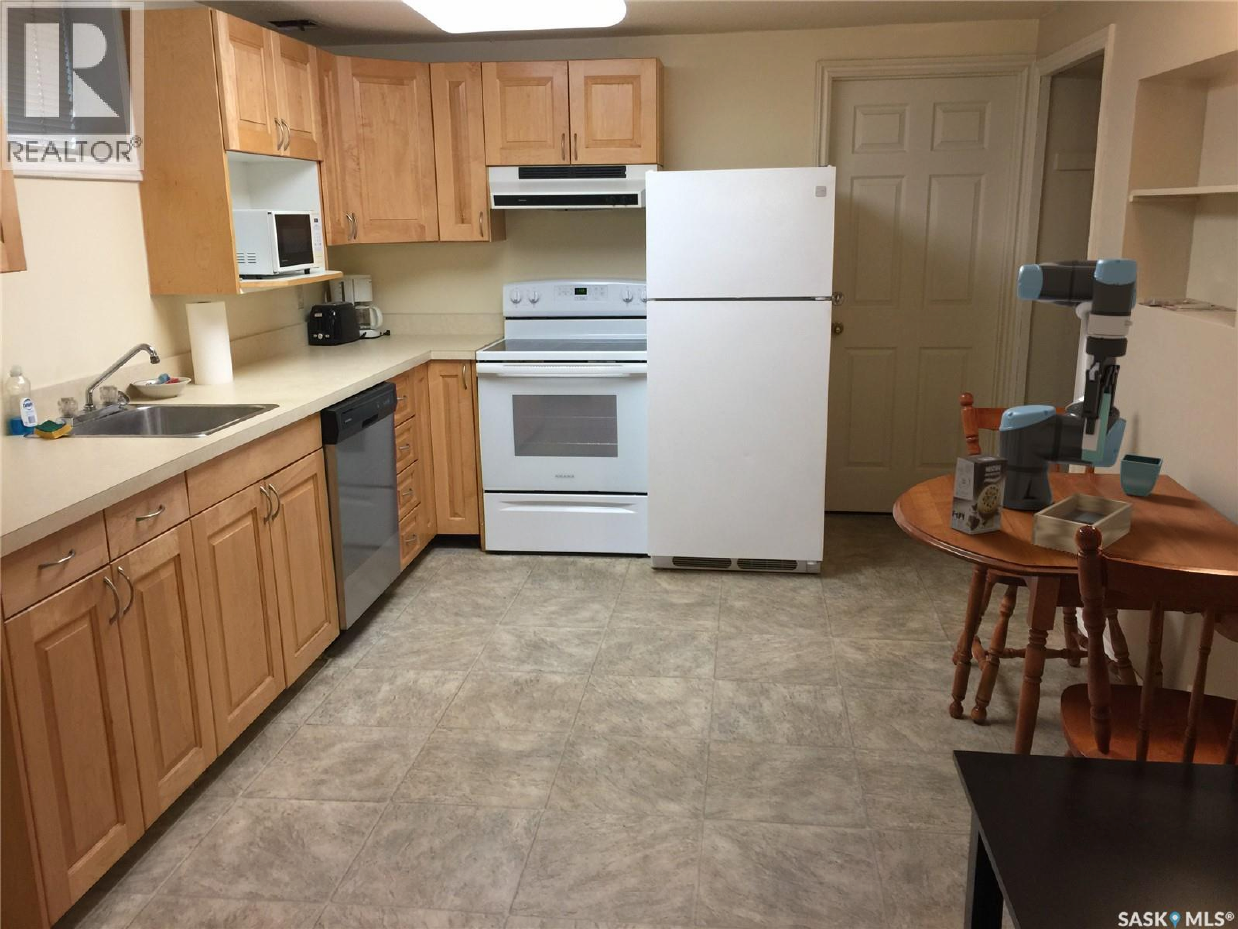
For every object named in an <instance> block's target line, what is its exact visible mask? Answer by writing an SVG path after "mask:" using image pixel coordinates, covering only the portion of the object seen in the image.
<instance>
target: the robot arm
mask: <svg viewBox="0 0 1238 929" xmlns="http://www.w3.org/2000/svg"><path fill="white" fill-rule="evenodd" d="M1137 279H1138V262H1137V261H1136V260H1135V259H1132V258H1131V259H1130V258H1100V259H1098V260H1097V259H1095V260H1092V259H1090V260H1089V259H1058V260H1052V261H1046V262H1042V263H1039V264H1037V263H1035V264H1023V265H1022V266H1020V268H1019V272H1018V279H1017V290H1016V297H1017V298H1018V299H1019V300H1027V301H1037V302H1039V303H1043V304H1045V305H1046V304H1047V305H1051V306H1056V307H1063V308H1065V307H1066V308H1075V314H1076V316H1077V317H1078V318H1079V319H1080V320H1081V323H1080V331H1079V332H1080V333H1079V341H1078V352H1077V361H1076V362H1077V363H1076V371H1075V372H1076V373H1075V382H1074V392H1073V402H1071V403H1070V404H1068V405H1066V407H1065V410H1064V411H1065V412H1064V413H1057V410H1056V407H1055V406H1052V405H1045V404H1033V405H1032V404H1031V405H1030V404H1029V405H1019V406H1014V407H1010V408H1007V409H1006V410H1005V411H1004V412H1003V413H1002V416H1001V422H1000V426H999V428H998V430H999V437H998V438H999V439H998V447H997V455H996V456H998V457H1002V458H1005V459H1008V463H1007V471H1006V480H1005V489H1004V497H1003V507H1002V508H1007V509H1012V510H1021V511H1042V510H1044V509H1046V508H1048V507H1050V506H1052V505H1053V502H1054V501H1053V500H1054V495H1053V490H1052V489H1053V488H1052V486H1051V481H1050V476H1049V467H1050V463H1054V464H1062V465H1063V464H1064V465H1072V466H1081V467H1083V466H1084V467H1091V468H1111V467H1113V466H1114V465H1116V463H1117V461H1118V457H1119V453H1120V449H1121V446H1122V442H1123V438H1124V434H1125V432H1126V431H1125V430H1126V427H1127V419H1125V418H1123V417H1121V415H1120V414H1121V412H1120V409H1119V407H1117V406H1116V405H1114V404H1115V397H1116V390H1117V383H1118V377H1119V372H1120V369H1121V365H1120V364H1118V358H1121V357H1125V356H1126V354H1127V347H1128V339H1127V337H1125V336H1128V335H1129V333H1130V327H1131V326H1132V325H1133V321H1132V320H1131V318H1132V317H1131V316H1132V310H1133V309H1135V307H1136V303H1137V297H1138V296H1137V295H1138V293H1137V292H1138V291H1137V289H1138V280H1137ZM1104 393H1108V394H1111V400H1110V408H1109V415H1108V423H1107V430H1106V438H1105V445H1104V452H1103V460H1102V461H1101V462H1090V461H1085V460H1082V459H1081V458H1082V450H1083V449H1086V450H1093V451H1096V450H1097V442H1098V434H1099V427H1100V419H1098V418H1099V414H1100V409H1101V404H1102V399H1103V394H1104Z"/></svg>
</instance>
